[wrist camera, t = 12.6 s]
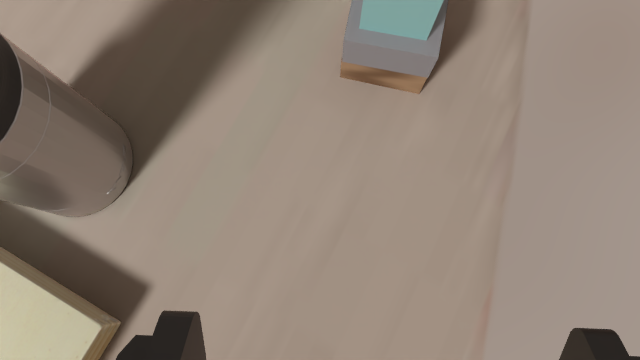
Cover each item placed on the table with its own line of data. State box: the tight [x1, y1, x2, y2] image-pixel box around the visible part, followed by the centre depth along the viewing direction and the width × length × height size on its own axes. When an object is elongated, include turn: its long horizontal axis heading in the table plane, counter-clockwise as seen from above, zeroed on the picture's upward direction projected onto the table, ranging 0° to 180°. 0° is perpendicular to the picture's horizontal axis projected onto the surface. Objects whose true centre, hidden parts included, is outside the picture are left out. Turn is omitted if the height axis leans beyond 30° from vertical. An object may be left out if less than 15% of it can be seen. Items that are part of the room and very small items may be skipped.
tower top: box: [342, 0, 448, 78], centre depth 42 cm, size 7×7×4 cm
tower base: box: [340, 61, 427, 94], centre depth 46 cm, size 7×7×4 cm
